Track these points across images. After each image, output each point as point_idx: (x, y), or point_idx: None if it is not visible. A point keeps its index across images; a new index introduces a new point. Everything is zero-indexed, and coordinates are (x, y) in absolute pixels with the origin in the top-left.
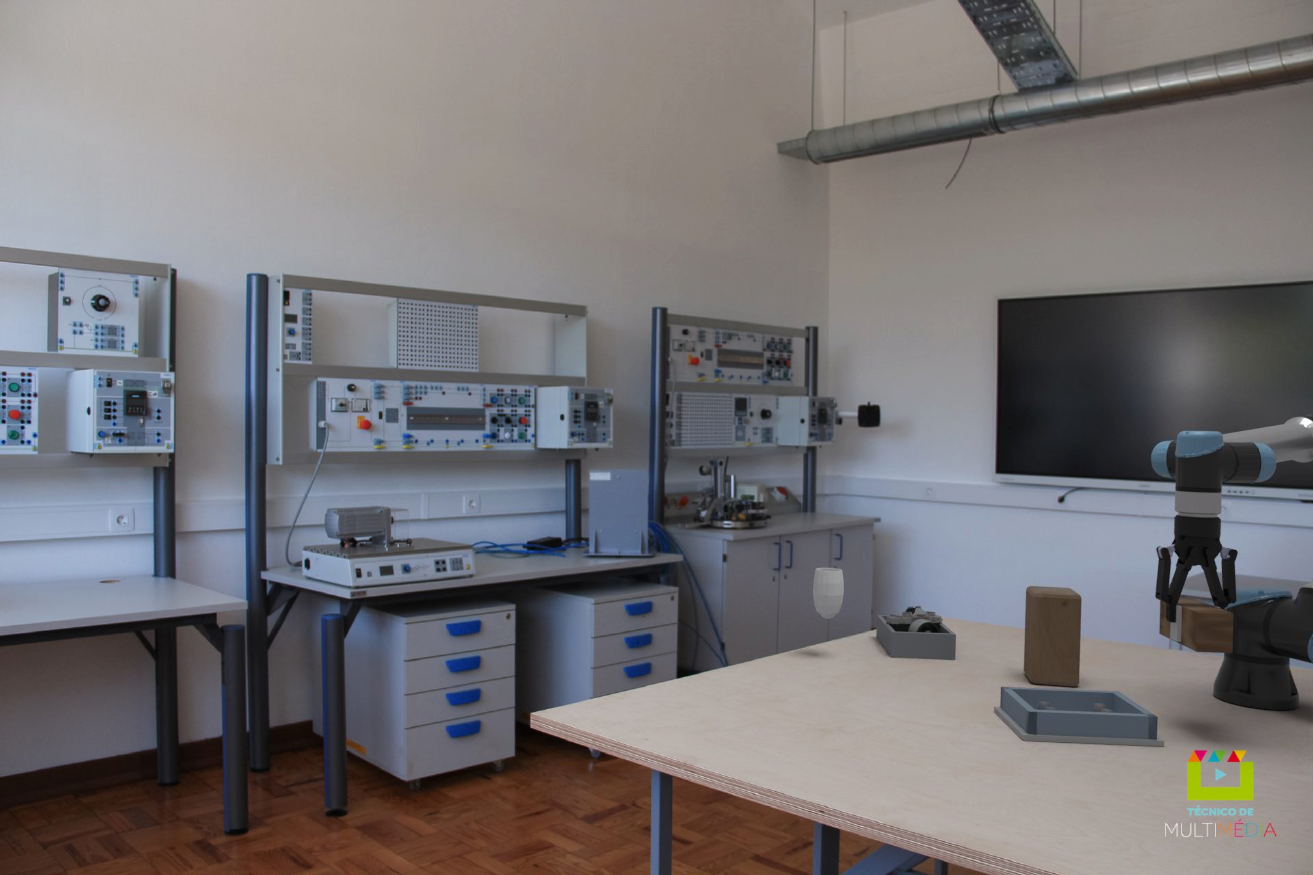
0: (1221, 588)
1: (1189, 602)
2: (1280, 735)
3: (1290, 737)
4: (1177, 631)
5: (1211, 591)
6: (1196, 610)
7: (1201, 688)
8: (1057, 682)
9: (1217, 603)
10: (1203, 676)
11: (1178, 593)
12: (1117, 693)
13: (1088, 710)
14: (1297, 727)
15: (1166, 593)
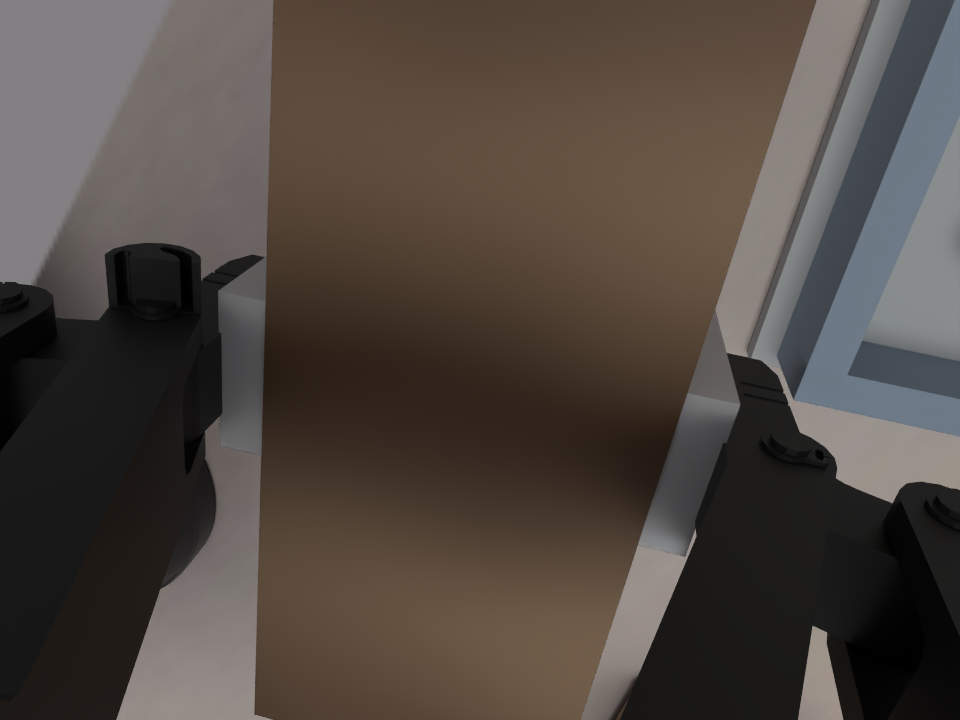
0: (37, 411)
1: (424, 560)
2: (231, 63)
3: (205, 33)
4: None
5: (170, 512)
6: (737, 55)
7: (207, 602)
8: None
9: (203, 361)
10: (134, 696)
11: (750, 516)
12: (832, 362)
13: (935, 359)
14: (109, 166)
15: (952, 557)
